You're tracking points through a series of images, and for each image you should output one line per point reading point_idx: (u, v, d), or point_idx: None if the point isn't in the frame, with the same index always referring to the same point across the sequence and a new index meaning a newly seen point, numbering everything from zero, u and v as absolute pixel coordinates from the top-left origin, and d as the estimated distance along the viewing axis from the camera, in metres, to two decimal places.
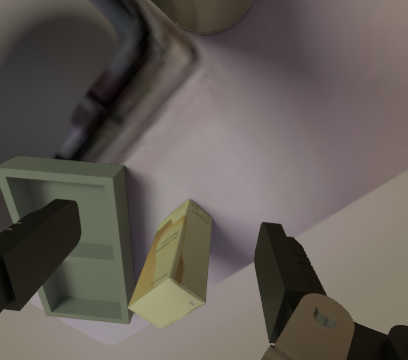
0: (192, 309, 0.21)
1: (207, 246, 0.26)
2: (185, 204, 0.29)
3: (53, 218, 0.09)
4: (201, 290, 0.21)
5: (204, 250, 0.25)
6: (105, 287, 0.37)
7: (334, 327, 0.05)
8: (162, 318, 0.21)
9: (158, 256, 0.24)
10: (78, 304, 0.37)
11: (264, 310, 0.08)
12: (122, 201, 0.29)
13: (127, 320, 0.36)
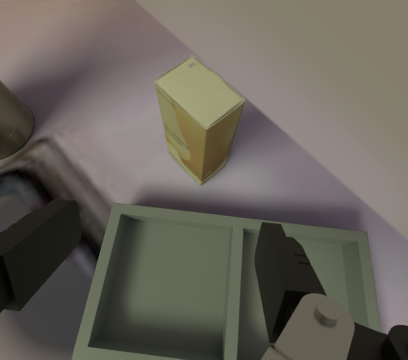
0: (203, 66, 0.19)
1: None
2: (169, 151, 0.29)
3: (53, 218, 0.09)
4: None
5: None
6: None
7: (334, 327, 0.05)
8: (221, 94, 0.18)
9: (180, 134, 0.21)
10: None
11: (264, 310, 0.08)
12: None
13: (358, 233, 0.23)
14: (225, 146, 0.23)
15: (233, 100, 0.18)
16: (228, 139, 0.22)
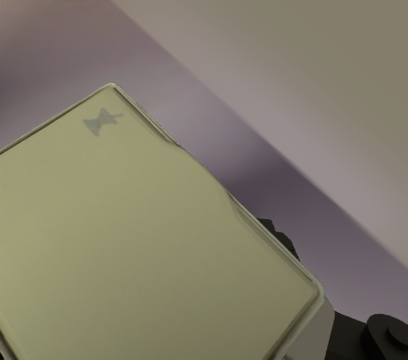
0: (146, 125, 0.05)
1: None
2: None
3: None
4: None
5: None
6: None
7: (315, 316, 0.06)
8: (213, 271, 0.04)
9: None
10: None
11: None
12: None
13: None
14: None
15: (272, 305, 0.04)
16: None
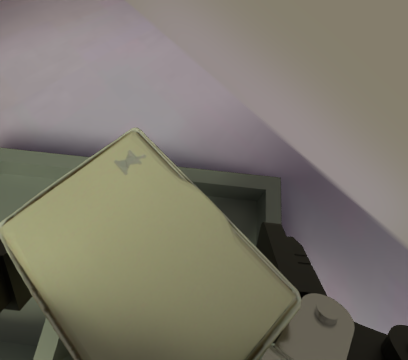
0: (164, 165, 0.06)
1: None
2: None
3: None
4: None
5: None
6: None
7: (334, 327, 0.05)
8: (217, 284, 0.05)
9: None
10: None
11: None
12: None
13: (268, 179, 0.16)
14: None
15: (261, 309, 0.05)
16: None
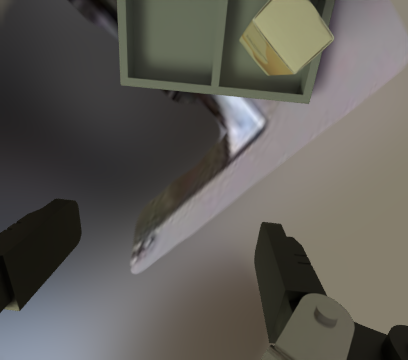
0: None
1: None
2: (241, 42, 0.30)
3: (53, 218, 0.09)
4: None
5: None
6: None
7: (334, 327, 0.05)
8: (313, 34, 0.20)
9: (263, 53, 0.24)
10: (305, 67, 0.31)
11: (264, 310, 0.08)
12: None
13: None
14: None
15: (323, 41, 0.20)
16: None
